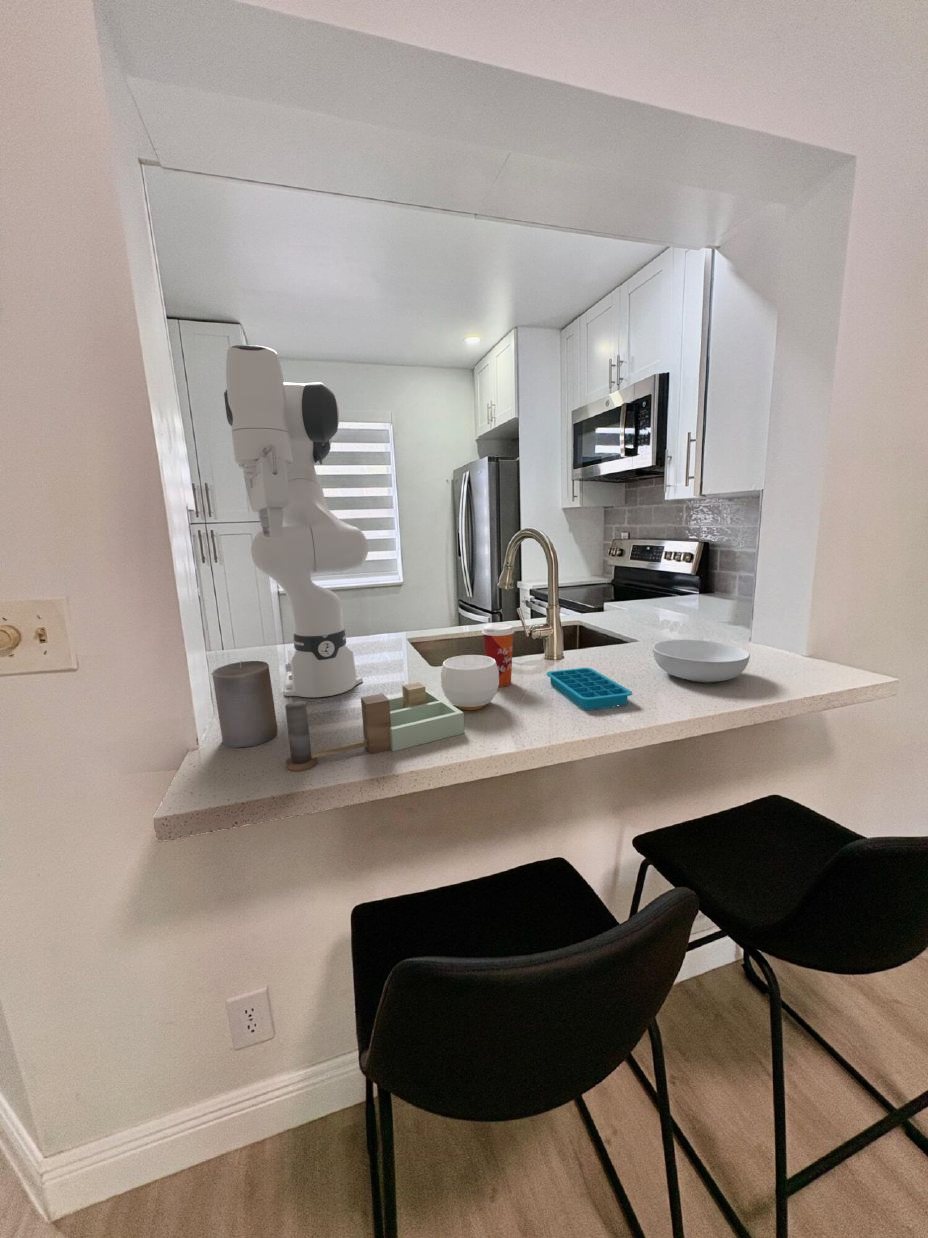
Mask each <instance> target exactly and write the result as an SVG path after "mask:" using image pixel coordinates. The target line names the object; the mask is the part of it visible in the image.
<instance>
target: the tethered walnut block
mask: <svg viewBox="0 0 928 1238" xmlns="http://www.w3.org/2000/svg"><path fill="white" fill-rule="evenodd" d="M388 698H389V697H387V696H386V695H385V694H384V692H383V693H378V694H371V695H367V696H361V697H360V704H361V716H362V728H363V730H362V731H363V740H359V741H356V742H351V743H347V744H340V745H337V746H332V747H327V748H324V749H323V748H322V749H319V750H318V749H317V750H313V751H312V746H311V740H310V729H309V718H308V717H309V716H308V710H307V702H306V701H301V700H296V701H292V702H289V703H287V704H286V705H285V707H284V708H285V715H286V716H285V717H286V723H287V732H288V733H287V734H288V741H289V743H288V744H289V750H290V757H288V758H287V759H286V760H285V767H286V769H287V770H288V771H290V772H302V771H307V770H309V769H312V768H313V767H315V766H316V765H318V763H319V762H318V758H320V757H324V756H328V755H332V754H333V755H334V754H338V753H342V752H346V751H351V750H355V749H357V750H358V749H360V748H366V750H367V752H368V753H369V754H370V755H372V754H376V753H381V752H385V751H390V750H392V749H391V738H390V728H391V718H390V703H389V699H388Z"/></svg>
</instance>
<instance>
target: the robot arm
mask: <svg viewBox="0 0 928 1238" xmlns="http://www.w3.org/2000/svg"><path fill="white" fill-rule="evenodd" d="M225 359H226V363H225V364H226V365H225V371H226V372H225V375H226V376H225V377H226V379H225V380H226V390H225V391H224V393H223V397H224V405H225V407H224V408H225V414H226V419H227V422H228V424H229V426H230V427H231V438H232V445H233V446H232V447H233V455H234V461H235V463H236V464H238V468H239V469H243V478H244V482H245V487H246V490H247V491H246V492H247V497H248V501H249V504H250V509H251V510H252V512H255V513H256V512H258V519H259V522H260V526H261V530H260V531H258V532H257V533H256V534H255V536H254V538H253V540H252V543H251V545H250V546H251V547H250V554H251V558H252V561H253V563H254V565H255V566H256V567H257V568H258V570H260V572H262V573H263V574H265V575H266V576H268V577H269V578H271V579H272V580H274V581H275V582H276V583H277V584H278V585H279V586H280V588H282V590H283V591H284V593H285V594H286V595H285V596H286V597H287V599H288V601H289V604H290V608H291V612H292V619H293V625H294V626H293V627H294V634H293V638H292V639H293V648H294V652H293V654H292V656H291V659H290V661H289V662H285V672H287V673H289V674H286V676H285V683H284V689H283V690H284V691H283V696H285V697H302V698H323V697H330V696H336V695H340V694H343V693H346V692H348V691H350V690H352V689H353V688H354V687H355V686H356V685H358V684H360V683H362V682H363V677H362V676H360V675H358V674H356V673H357V672H356V665H355V658H354V651H353V650H352V649H351V648H349V647H348V646H347V634H346V629H345V628H344V623H343V611H342V602H341V599H340V597H339V596H338V595H337V594H336V593H335V592H334V591H332V590H329V589H328V588H325V587H323V586H320V585H317V584H316V583H314V582H313V580H312V577H311V576H312V575H314V574H323V573H325V574H328V573H340V572H341V573H343V572H347V571H350V570H354V569H357V568H360V567H362V566H363V564H364V563H365V562H366V559H367V557H368V553H369V544H368V540H367V538H366V536H365V534H364V533H363V532H362V530H361V529H359V527H356V526H353V525H351V524H350V523H349V524H348V523H347V522H344V521H343V520H341V519H339V518H338V517H337V516H335V515H334V514H333V513H332V511H330V509H329V506H328V503H327V502H326V498H325V494H324V489H323V486H322V484H321V481H320V479H319V477H318V474H317V472H316V468H315V464H317V463H318V462H319V465H320V466H321V465H323V460H324V459H325V458H327V456H328V455H329V453H330V450H331V447H332V446H331V445H332V438H333V437H334V436H335V435H336V433H337V432H338V429H339V425H340V409H339V405H338V401H337V399H336V396H335V394H334V392H333V391H332V390H331V389H330V388H329V387H328V386H327V385H325V384H324V383H323V382H308V383H302V382H301V383H300V382H299V383H297V382H285V381H284V375H283V370H282V366H281V365H282V364H281V362H280V358H279V355H278V353H277V351H275V350H274V349H272V348H270V347H267V346H261V345H252V344H237V345H232V346H231V347H229V348H228V349H227V351H226V358H225ZM283 523H284V524H285V526H283ZM290 672H291V673H290Z"/></svg>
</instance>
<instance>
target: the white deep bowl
mask: <svg viewBox="0 0 928 1238" xmlns="http://www.w3.org/2000/svg"><path fill="white" fill-rule="evenodd" d="M440 679H441V682H440V683H441V685H440V686H441V689H442V691H443V694H444V696H445V698H446V699H447V700H448V702H449V703H450V704H451V705H453V706H457V707H458V709H459V710H465V711H474V710H480V709H482V708H483V707H484V706H486V705H488V704H490V702H491V701H492V700H493V699H494V698H495V696H496V695H497V692H498V689H499V687H498V686H499V671H498V668H497V664H496V661H495V659H493V658H491V657H487V656H485V655H482V654H481V655H480V654H465V655H464V654H463V655H458V656H453V657H449V658H447V659H445V660H443V663H442V666H441V671H440Z"/></svg>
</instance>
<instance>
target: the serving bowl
mask: <svg viewBox="0 0 928 1238" xmlns="http://www.w3.org/2000/svg"><path fill="white" fill-rule="evenodd" d="M652 654H653V657H654V660H655V662H656V664H657V665H658V666H659V667H660V668H661V669H662V670H663V671H664V672H666V673H668V674H670V675H672V676H674V677H676V678H680V679H683V680H685V679H687V680H686V681H689V680H691V681H690V682H695V681H697V683H712V682H722V681H727V680H731V679H734V678H736V677H738V676H740V674H742V673H743V672H744V671H745V670H746V668H747V666H748V664H749V662H750V657H751V654H750V653H749V652H748V651H747V650H746V649H744V648H743V647H740V646H736V645H732V644H729V643H724V642H720V641H711V640H703V639H669V640H663V641H659V642H655V643H654V644H653V645H652Z"/></svg>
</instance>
